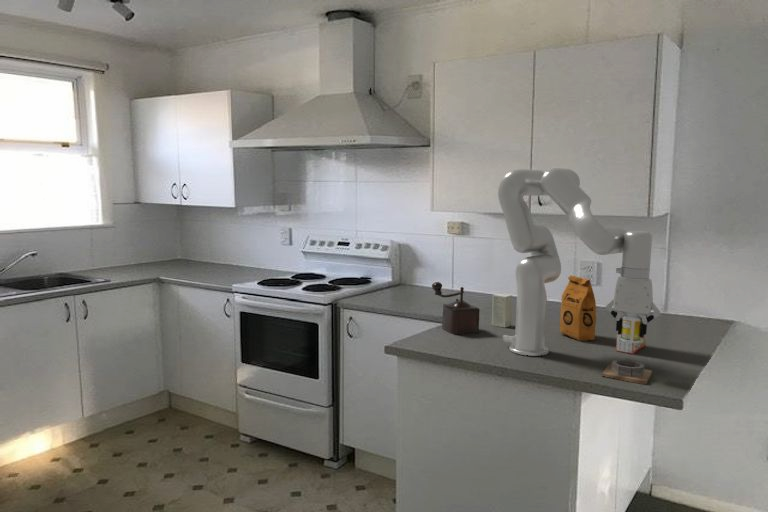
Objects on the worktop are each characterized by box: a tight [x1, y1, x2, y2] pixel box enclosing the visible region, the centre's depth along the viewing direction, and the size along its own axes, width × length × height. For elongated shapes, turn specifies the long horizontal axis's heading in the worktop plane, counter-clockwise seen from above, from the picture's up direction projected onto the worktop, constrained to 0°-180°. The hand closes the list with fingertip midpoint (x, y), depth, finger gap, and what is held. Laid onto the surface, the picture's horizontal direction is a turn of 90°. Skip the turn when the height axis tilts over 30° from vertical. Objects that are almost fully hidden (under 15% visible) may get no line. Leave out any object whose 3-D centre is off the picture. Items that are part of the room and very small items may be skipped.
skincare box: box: [491, 293, 512, 328], centre depth 238 cm, size 6×4×12 cm
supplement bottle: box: [621, 313, 642, 343], centre depth 180 cm, size 5×5×10 cm
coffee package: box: [559, 275, 597, 342], centre depth 223 cm, size 10×12×22 cm
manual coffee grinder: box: [431, 281, 480, 336], centre depth 228 cm, size 16×11×18 cm
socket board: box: [601, 358, 653, 386], centre depth 181 cm, size 12×12×4 cm
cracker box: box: [615, 313, 647, 355], centre depth 210 cm, size 14×6×21 cm, turn 141°
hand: (630, 334), depth 180 cm, fingers closed on supplement bottle, 5 cm apart
